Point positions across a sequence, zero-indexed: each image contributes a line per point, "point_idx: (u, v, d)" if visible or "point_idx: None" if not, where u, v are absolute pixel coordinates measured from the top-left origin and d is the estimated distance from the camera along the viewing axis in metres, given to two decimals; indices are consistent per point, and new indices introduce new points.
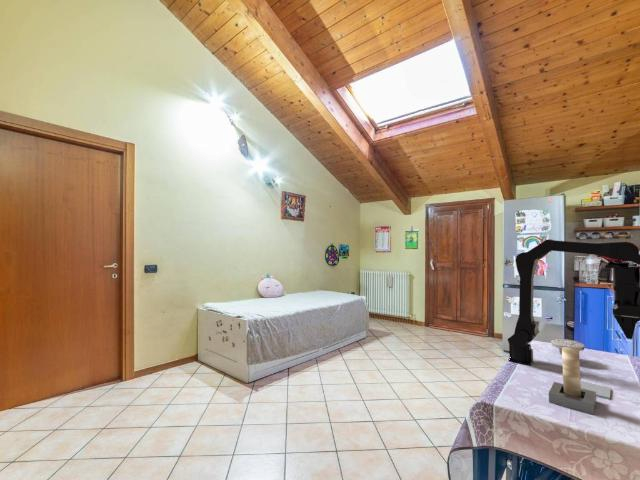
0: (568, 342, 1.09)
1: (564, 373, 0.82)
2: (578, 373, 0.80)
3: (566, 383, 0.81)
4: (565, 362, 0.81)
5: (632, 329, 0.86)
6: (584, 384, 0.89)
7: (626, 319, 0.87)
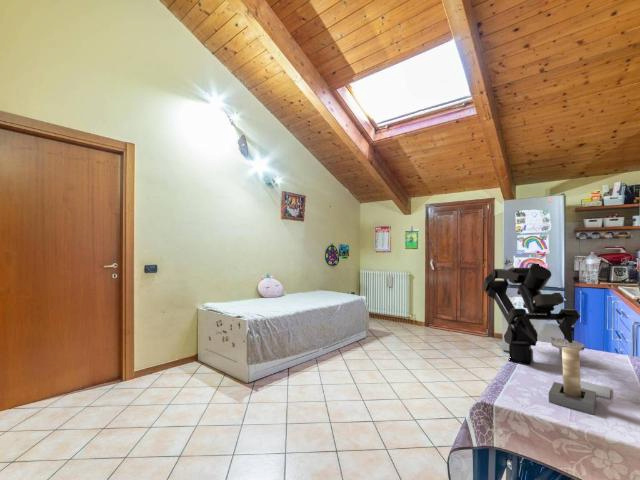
0: (568, 342, 1.09)
1: (564, 373, 0.82)
2: (578, 373, 0.80)
3: (566, 383, 0.81)
4: (565, 362, 0.81)
5: (530, 331, 0.92)
6: (584, 384, 0.89)
7: (524, 324, 0.95)
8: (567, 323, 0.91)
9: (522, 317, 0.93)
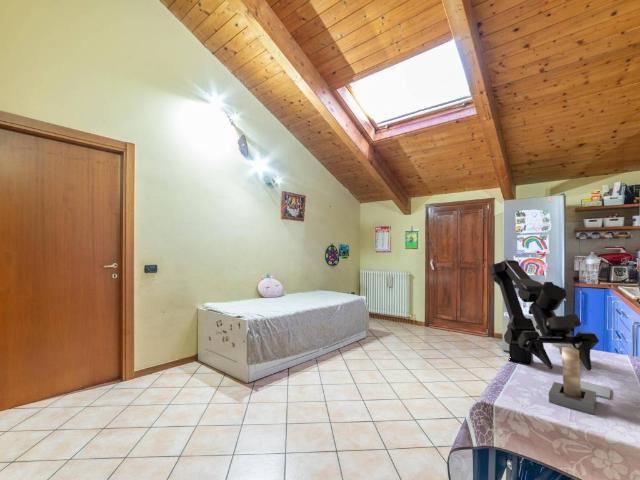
0: None
1: (564, 373, 0.82)
2: (578, 373, 0.80)
3: (566, 383, 0.81)
4: (565, 362, 0.81)
5: (544, 356, 0.84)
6: (584, 384, 0.89)
7: (537, 349, 0.87)
8: (585, 348, 0.83)
9: (535, 341, 0.86)
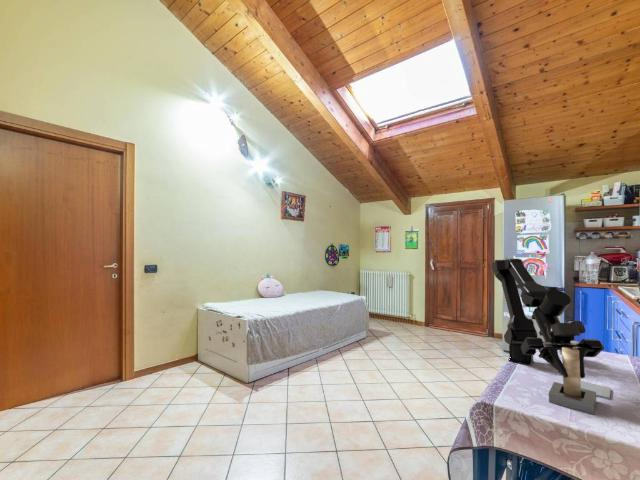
0: None
1: None
2: (578, 373, 0.80)
3: (566, 383, 0.81)
4: (565, 362, 0.81)
5: (558, 364, 0.82)
6: (584, 384, 0.89)
7: (551, 356, 0.85)
8: None
9: (549, 348, 0.84)
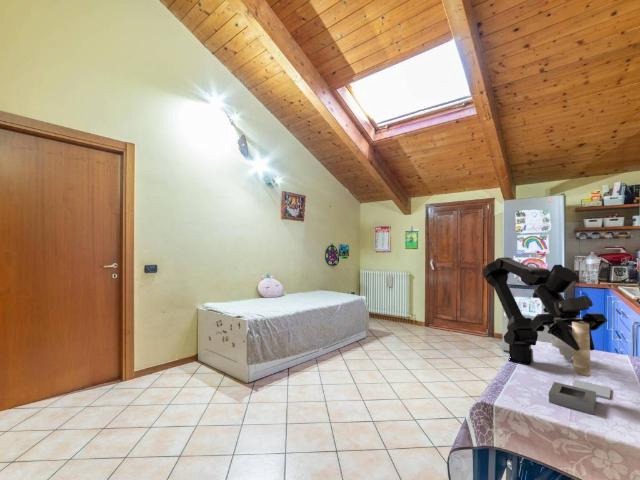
0: None
1: None
2: (588, 345, 0.82)
3: (577, 356, 0.83)
4: (576, 336, 0.83)
5: (569, 338, 0.84)
6: (584, 384, 0.89)
7: (561, 331, 0.87)
8: None
9: (561, 323, 0.85)
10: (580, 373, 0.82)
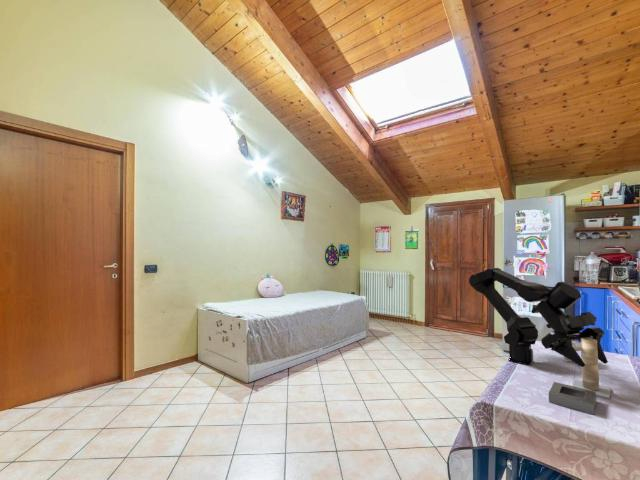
0: None
1: (585, 362, 0.87)
2: (597, 361, 0.86)
3: (587, 371, 0.87)
4: (587, 352, 0.87)
5: (574, 355, 0.87)
6: None
7: (564, 348, 0.89)
8: (597, 342, 0.90)
9: (566, 341, 0.88)
10: (591, 388, 0.86)
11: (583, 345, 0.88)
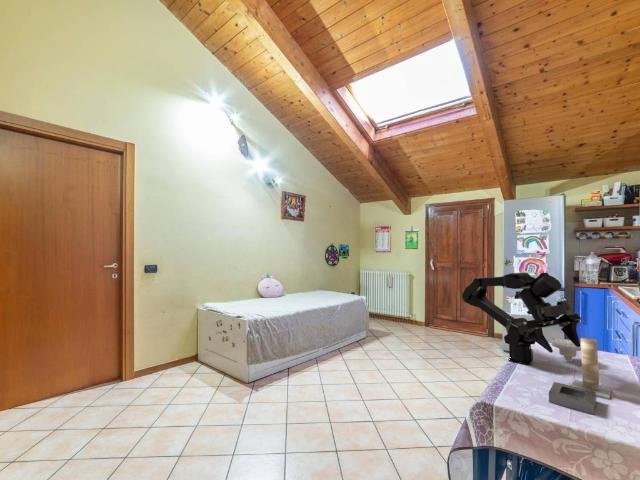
0: (568, 342, 1.09)
1: (585, 362, 0.87)
2: (597, 361, 0.86)
3: (587, 371, 0.87)
4: (587, 352, 0.87)
5: (544, 342, 0.95)
6: None
7: (536, 335, 0.98)
8: (572, 328, 0.97)
9: (536, 330, 0.96)
10: (591, 388, 0.86)
11: (583, 345, 0.88)
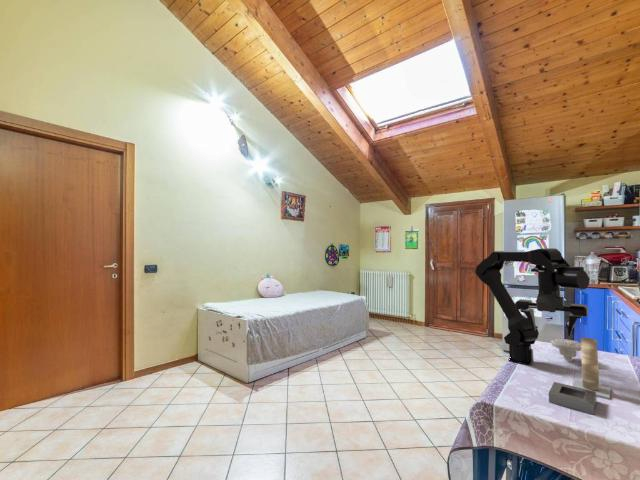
0: (568, 342, 1.09)
1: (585, 362, 0.87)
2: (597, 361, 0.86)
3: (587, 371, 0.87)
4: (587, 352, 0.87)
5: None
6: None
7: None
8: (570, 320, 0.95)
9: (523, 312, 1.03)
10: (591, 388, 0.86)
11: (583, 345, 0.88)
